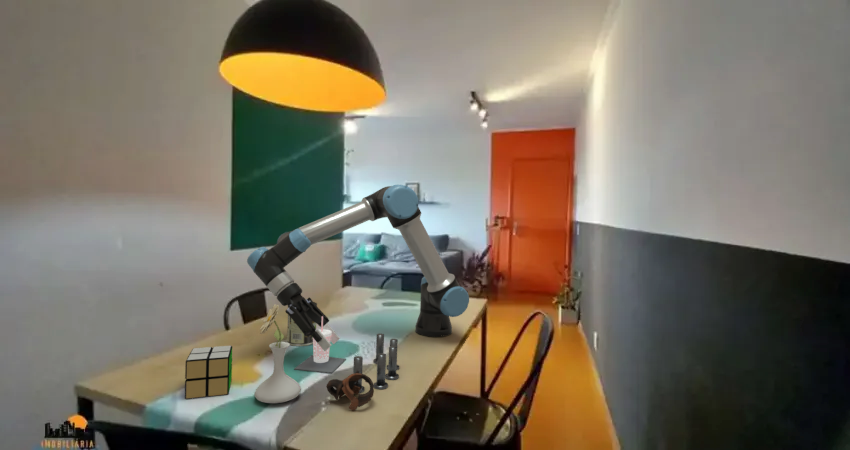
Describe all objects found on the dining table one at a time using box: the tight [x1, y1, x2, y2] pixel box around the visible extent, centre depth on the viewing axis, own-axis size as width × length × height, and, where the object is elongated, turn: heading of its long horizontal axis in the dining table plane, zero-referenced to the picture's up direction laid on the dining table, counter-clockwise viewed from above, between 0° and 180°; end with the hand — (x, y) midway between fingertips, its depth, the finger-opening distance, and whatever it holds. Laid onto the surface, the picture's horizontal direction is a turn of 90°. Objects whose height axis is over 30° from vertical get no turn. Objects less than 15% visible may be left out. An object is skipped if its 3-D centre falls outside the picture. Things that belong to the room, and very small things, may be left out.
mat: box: [294, 354, 347, 375], centre depth 131 cm, size 12×12×1 cm
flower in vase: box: [253, 304, 302, 404], centre depth 106 cm, size 13×11×25 cm
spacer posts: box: [352, 333, 400, 394], centre depth 123 cm, size 26×11×9 cm, turn 170°
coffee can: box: [286, 301, 318, 347], centre depth 152 cm, size 10×10×14 cm
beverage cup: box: [312, 316, 332, 363], centre depth 130 cm, size 6×6×14 cm
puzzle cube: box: [184, 345, 233, 400], centre depth 110 cm, size 10×10×10 cm
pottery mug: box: [326, 373, 375, 412], centre depth 105 cm, size 12×10×8 cm
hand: (332, 344), depth 130 cm, fingers open, 6 cm apart
